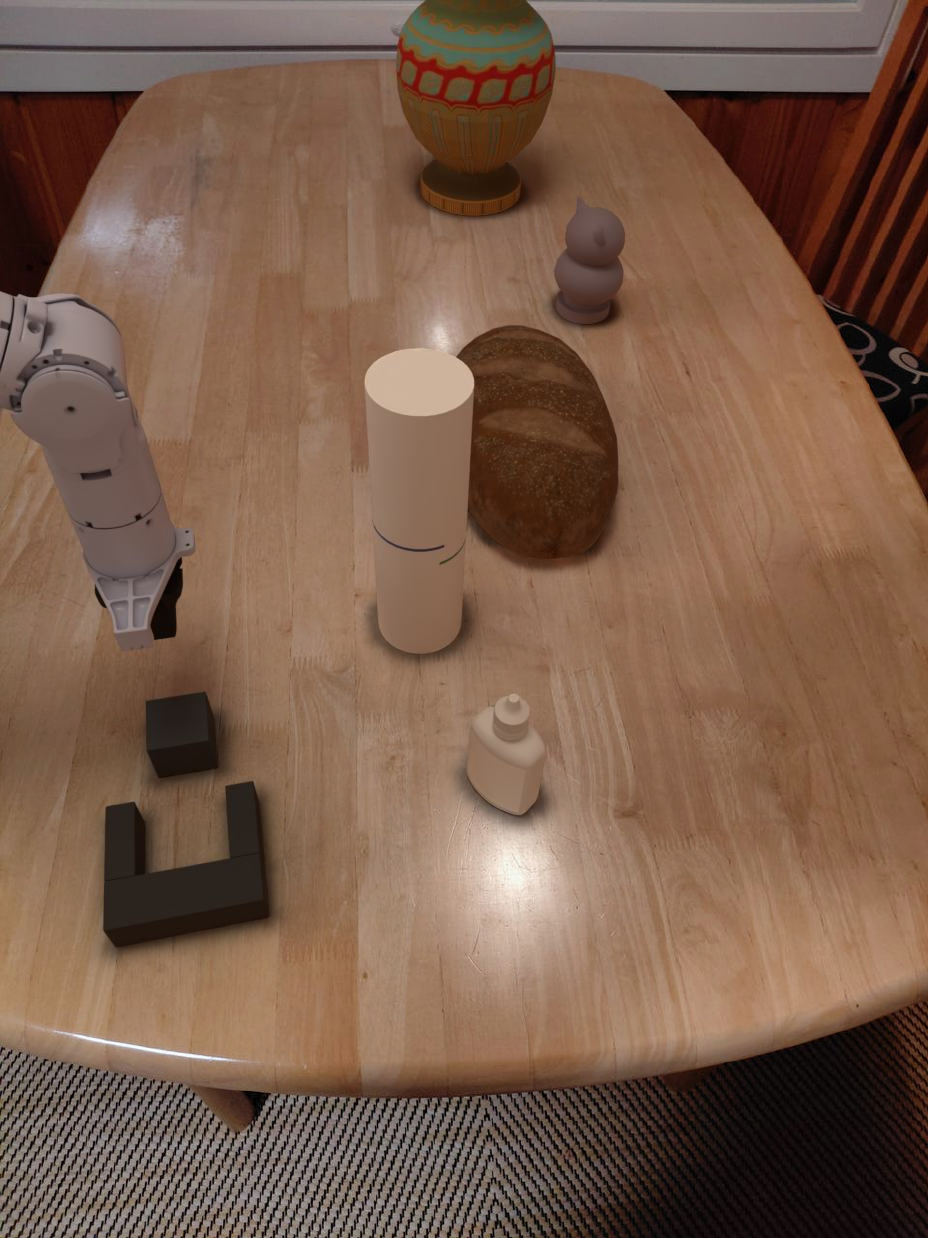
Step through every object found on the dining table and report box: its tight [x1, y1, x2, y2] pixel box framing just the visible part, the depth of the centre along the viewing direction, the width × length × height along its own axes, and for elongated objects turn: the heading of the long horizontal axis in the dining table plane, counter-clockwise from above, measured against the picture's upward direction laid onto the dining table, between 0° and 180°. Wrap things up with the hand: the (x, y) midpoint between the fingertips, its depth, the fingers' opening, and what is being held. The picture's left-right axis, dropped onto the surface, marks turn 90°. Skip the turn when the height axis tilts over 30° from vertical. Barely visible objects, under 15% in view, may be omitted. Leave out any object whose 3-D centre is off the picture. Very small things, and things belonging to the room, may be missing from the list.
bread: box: [455, 324, 619, 561], centre depth 89 cm, size 16×29×11 cm, turn 9°
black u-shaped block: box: [102, 780, 271, 948], centre depth 64 cm, size 10×9×3 cm
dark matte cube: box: [145, 691, 219, 778], centre depth 70 cm, size 4×4×4 cm
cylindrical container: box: [364, 347, 474, 655], centre depth 70 cm, size 7×7×25 cm
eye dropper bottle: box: [466, 693, 547, 816], centre depth 66 cm, size 4×6×12 cm
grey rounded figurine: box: [553, 195, 626, 325], centre depth 106 cm, size 8×8×12 cm
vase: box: [395, 0, 557, 217], centre depth 116 cm, size 20×20×30 cm
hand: (161, 631), depth 68 cm, fingers closed
